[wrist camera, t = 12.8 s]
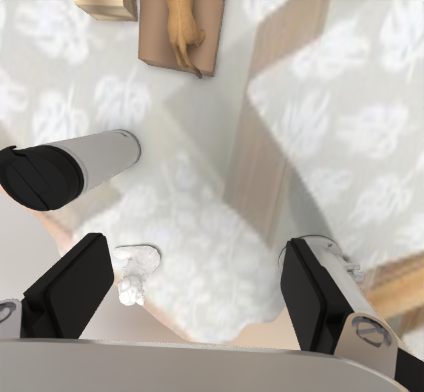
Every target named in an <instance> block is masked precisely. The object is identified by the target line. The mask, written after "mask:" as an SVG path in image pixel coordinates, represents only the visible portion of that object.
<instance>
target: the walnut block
mask: <svg viewBox="0 0 424 392" xmlns="http://www.w3.org/2000/svg"><path fill="white" fill-rule="evenodd" d="M224 5H225V0H193V4H192V15H193V18H194V20H195V21H196V23H197V26H198V29H199V30H200V29H201V30H204V32H205V38H204V40H203V42H201V43H200V45H199V46H198V47H197V46H196V45H195V43H194V44H191V45H187V48H186V51H187V55H188V58H189V60H190V61H191V63H192V64H193V65H194V66H195V67H197V68H198V69H199V70H200V72H201V74H202V75H206V76H211V77H214V71H215V64H216V58H217V51H218V45H219V38H220V32H221V25H222V18H223V12H224ZM168 18H169V8H168V5H167V2H166V0H140V22H139V51H138V58H139V59H140V60H142V61H144V62H145V63H147V64H148V65H152V66H158V67H163V68H168V69H174V70H179V71H184V72H190V73H195V72H194V70H192V69H191V68H190V67H189V66H188V65H187V67H186V68H184V69H182V68H180V66H179V65H178V63H177V58H176V55H175V52H174V49H173V47H172V46H171V44H170V41H169V34H168V28H167V24H168ZM195 74H196V73H195Z"/></svg>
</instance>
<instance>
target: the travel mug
mask: <svg viewBox="0 0 424 392" xmlns="http://www.w3.org/2000/svg"><path fill="white" fill-rule="evenodd" d="M14 148H16V146H9V147H7V148H4V149H2V150H1V151H0V184H1V186H2V187H3V189H4V190H5V191H6V192H7V194H8V195H9V196H11V197H12V198H13V199H14V200H15V201H17V202H18V203H20V204H21V205H23V206H25V207H27V208H30V209H33V210H37V211H49V210H56V209H59V208H61V207H63V206H64V205H66V204H68V203H69V202H71V201H74V200H75V199H77V198H79V197H80V196H82V195H84V194H85V193H87V192H88V191H90V190H92V189H93V188H95V187H97V186H98V185H100V184H102V183H103V182H105V181H106V180H108V179H110V178H111V177H113V176H115V175H116V174H118V173H120V172H121V171H123V170H124V169H126V168H128V167H129V166H131V165H133V164H134V163H136V162H137V160H138V159H139V157H140V153H141V148H140V144H139V142H138V140H137V139H136V137H135V136H134V135H132V134H131V133H130V132H128V131H125V130H115V131H110V132H104V133H99V134H94V135H89V136H83V137H78V138H73V139H68V140H63V141H57V142H52V143H47V144H42V145H38V146H35V147H29V148H26V149H21V150H12V149H14Z"/></svg>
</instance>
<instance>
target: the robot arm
mask: <svg viewBox="0 0 424 392" xmlns="http://www.w3.org/2000/svg"><path fill="white" fill-rule="evenodd" d="M279 269H280V272H281V275H282V276H281V291H282V294H283V297H284V300H285V303H286V306H287V308H288V312H289V315H290V318H291V321H292V324H293V327H294V330H295V333H296V336H297V339H298V342H299V345H300V348H301V351H299V350H285V349H272V348H257V347H237V346H218V345H199V344H178V343H157V342H156V343H154V342H135V341H110V340H85V339H84V340H83V339H78V338H79V337H80V335H81V334H82V332H83V330H84V329H85V327H86V326H87V324H88V322H89V321H90V319H91V318H92V316H93V315H94V313H95V311H96V310H97V308H98V306H99V305H100V303H101V302H102V300H103V298H104V297H105V295H106V294H107V292H108V291H109V289H110V287H111V286H112V284H113V282H114V273H113V268H112V263H111V258H110V254H109V249H108V244H107V239H106V237H105V236H103V234H102V233H88V234H87V235H86V236H85V237H84V238H83V239H82V240H80V241H79V242H78V243H77V244H76V245H75V246H74V247H73V248H72V249H71V250H70V251H69V252H67V253H66V254H65V255H64V256H63V257H62V258H61V259H60V260H59V261H58V262H57V263H56V264H55V265H53V266H52V268H50V269H49V270H48V271H47V272H46V273H45V274H44V275H43V276H42V277H40V278H39V279H38V280H37V281H36V282H35V283H34V284H33V285H32V286H31V287H30V288H29V289H27V291H25V292H24V293H23V294H24V296H25V298H24V299H22V301H19V300H18V299H6V300H3V301H0V392H424V362H423V361H421V360H419V359H418V358H416V357H414V356H413V355H412V353H411V352H410V351H409V350H408V348H407V347H406V346H405V345H404V344H403V342H402V341H401V340H400V339H399V338H398V336H397V335H396V334H395V333H394V331H393V330H392V329H391V328H390V326H389V325H388V324H387V322H386V321H385V320H384V319H383V317H382V316H381V315H380V313H379V312H378V311H377V310H376V308H375V307H374V306H373V304H372V303H371V302H370V301H369V299H368V298H367V297H366V295H365V294H364V293H363V291H362V290H361V289H360V288H359V286H358V285H357V284H356V282H363V281H364V276H363V274H362V273H361V272H347V270H360V265H359V263H347V262H345V261H344V260H343V255H342V252H341V250H340V249H339V247H338V246H337V245H336V244H335V243H334V242H333V241H331V240H330V239H328V238H325V237H321V236H305V237H302V238H292V239H291V241H287V245H286V247H285V249H284V250H283V251H282V253H281V255H280V257H279Z"/></svg>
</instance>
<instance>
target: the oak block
mask: <svg viewBox="0 0 424 392" xmlns="http://www.w3.org/2000/svg"><path fill="white" fill-rule="evenodd" d="M74 1H75V5H77V6H78V7H79V8H81V9H82V10H84V11H85V12H86V13H88V14H89V15H90V16H92V17H93V18H95V19H96V20H112V21H138V18H137V4H136V0H74Z"/></svg>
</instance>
